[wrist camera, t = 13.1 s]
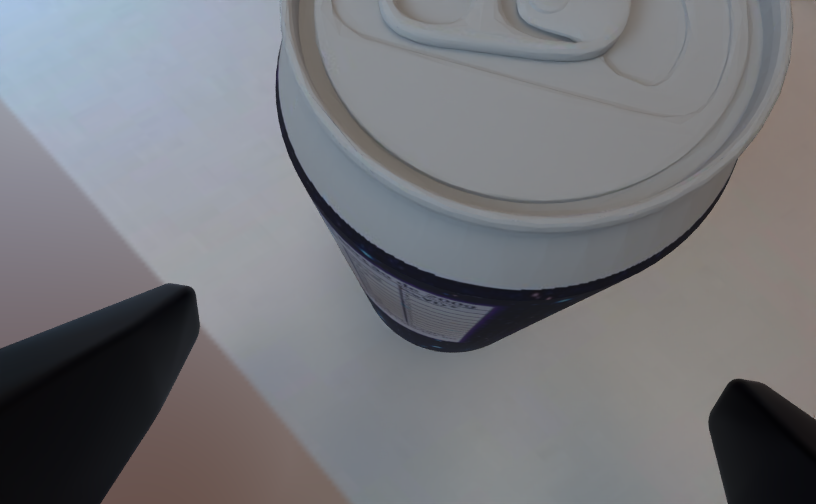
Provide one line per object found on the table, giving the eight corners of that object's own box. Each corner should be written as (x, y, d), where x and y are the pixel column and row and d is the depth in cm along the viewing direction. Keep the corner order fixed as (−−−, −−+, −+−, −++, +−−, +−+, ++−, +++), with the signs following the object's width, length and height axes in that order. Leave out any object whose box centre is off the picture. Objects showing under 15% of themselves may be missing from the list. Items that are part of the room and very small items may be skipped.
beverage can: (524, 367, 15) (867, 325, 4) (350, 338, 16) (163, 218, 4) (540, 202, 17) (822, -199, 5) (380, 179, 17) (306, -248, 5)
